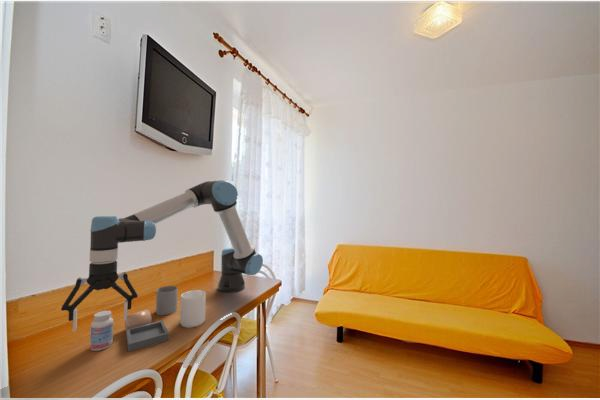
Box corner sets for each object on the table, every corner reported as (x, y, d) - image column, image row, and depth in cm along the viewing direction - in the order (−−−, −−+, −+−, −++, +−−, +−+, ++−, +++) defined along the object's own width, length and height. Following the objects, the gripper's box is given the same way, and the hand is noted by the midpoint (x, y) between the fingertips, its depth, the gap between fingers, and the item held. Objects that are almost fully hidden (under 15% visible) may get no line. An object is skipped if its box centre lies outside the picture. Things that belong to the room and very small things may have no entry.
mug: (190, 330, 98) (191, 300, 98) (171, 322, 104) (171, 294, 104) (210, 320, 106) (210, 292, 106) (191, 314, 112) (191, 287, 112)
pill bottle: (87, 353, 82) (88, 318, 82) (93, 343, 88) (94, 311, 88) (110, 349, 85) (110, 315, 85) (114, 340, 90) (115, 308, 90)
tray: (162, 326, 100) (162, 320, 100) (168, 340, 91) (168, 333, 91) (126, 336, 93) (126, 329, 93) (128, 351, 83) (128, 344, 83)
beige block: (143, 321, 104) (144, 307, 103) (150, 327, 101) (152, 312, 100) (124, 328, 98) (125, 313, 98) (131, 334, 95) (132, 319, 94)
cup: (168, 316, 110) (168, 292, 110) (151, 314, 111) (152, 291, 111) (180, 308, 118) (181, 286, 118) (165, 306, 119) (166, 285, 120)
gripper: (144, 255, 97) (142, 311, 97) (55, 263, 82) (52, 329, 81) (147, 259, 91) (145, 318, 91) (51, 268, 76) (47, 340, 75)
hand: (101, 324), depth 86 cm, fingers open, 13 cm apart
